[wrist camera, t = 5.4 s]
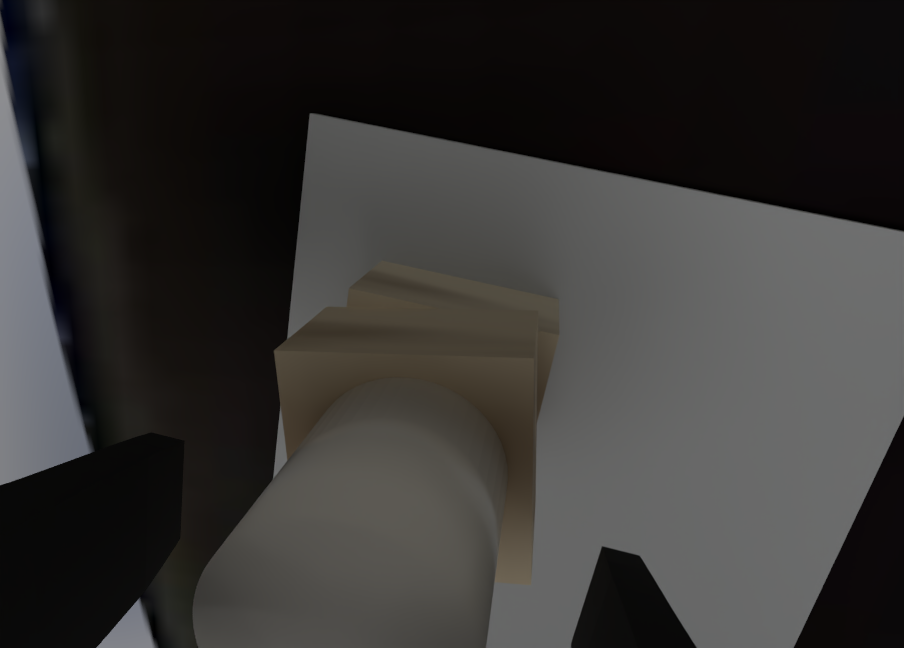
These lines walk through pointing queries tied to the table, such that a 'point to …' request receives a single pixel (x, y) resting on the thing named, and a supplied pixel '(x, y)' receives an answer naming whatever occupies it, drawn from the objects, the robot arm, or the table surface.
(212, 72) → the table surface
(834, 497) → the mat
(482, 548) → the cylinder
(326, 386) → the slab top
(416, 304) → the slab bottom
